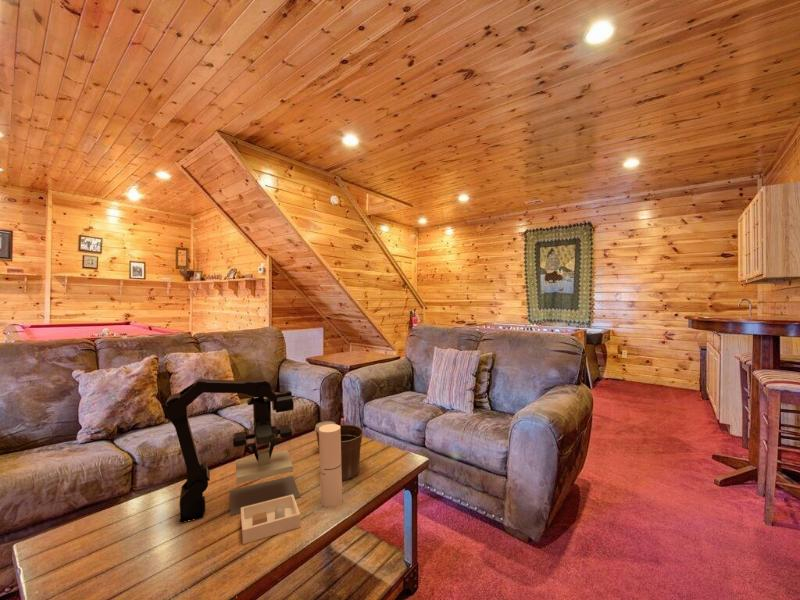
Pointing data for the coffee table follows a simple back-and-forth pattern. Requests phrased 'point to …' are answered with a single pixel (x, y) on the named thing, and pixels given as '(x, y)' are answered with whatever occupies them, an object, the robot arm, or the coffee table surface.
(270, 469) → the lid
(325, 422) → the disposable coffee cup
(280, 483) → the mat
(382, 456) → the coffee table surface
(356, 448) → the plant pot
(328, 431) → the cylindrical container
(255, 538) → the box
